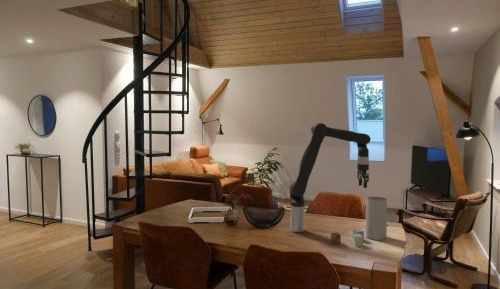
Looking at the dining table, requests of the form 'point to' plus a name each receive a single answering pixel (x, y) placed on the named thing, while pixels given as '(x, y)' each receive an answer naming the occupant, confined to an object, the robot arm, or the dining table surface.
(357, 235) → the sage block
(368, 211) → the cylinder vase
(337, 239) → the walnut block
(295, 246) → the dining table surface
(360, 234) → the grey block
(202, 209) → the white square frame
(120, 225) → the dining table surface
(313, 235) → the dining table surface
